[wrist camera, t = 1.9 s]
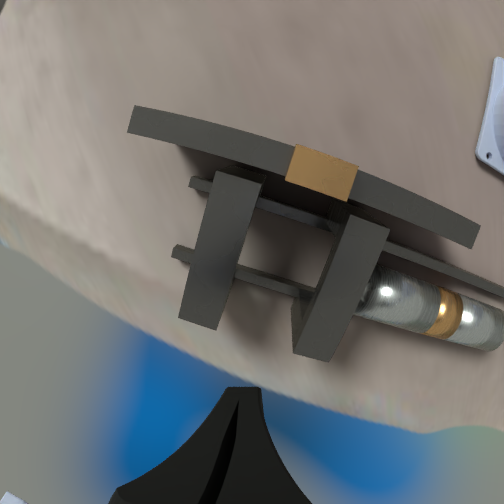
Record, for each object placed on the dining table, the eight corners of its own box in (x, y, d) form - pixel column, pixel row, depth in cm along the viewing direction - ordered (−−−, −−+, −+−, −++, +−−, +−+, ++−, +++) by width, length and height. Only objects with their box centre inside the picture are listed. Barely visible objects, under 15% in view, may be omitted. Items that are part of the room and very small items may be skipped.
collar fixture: (523, 251, 18) (580, 284, 11) (471, 356, 21) (508, 408, 14) (177, 115, 17) (126, 100, 11) (143, 260, 20) (91, 306, 14)
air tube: (498, 300, 19) (513, 330, 16) (474, 329, 20) (486, 360, 18) (367, 250, 18) (374, 284, 16) (345, 289, 20) (348, 325, 18)
